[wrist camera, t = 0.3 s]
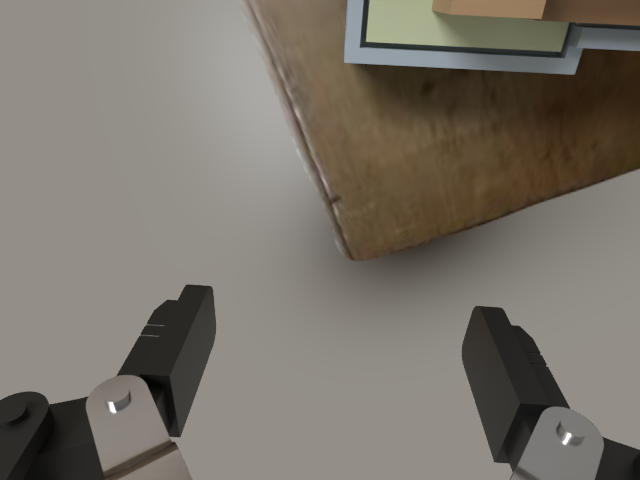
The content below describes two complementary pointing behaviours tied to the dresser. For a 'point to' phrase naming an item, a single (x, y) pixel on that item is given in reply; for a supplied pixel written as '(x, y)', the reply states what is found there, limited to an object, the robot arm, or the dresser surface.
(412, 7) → the lid
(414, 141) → the dresser surface
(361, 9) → the blue-grey open box
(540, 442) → the robot arm
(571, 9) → the wooden l-shaped block
